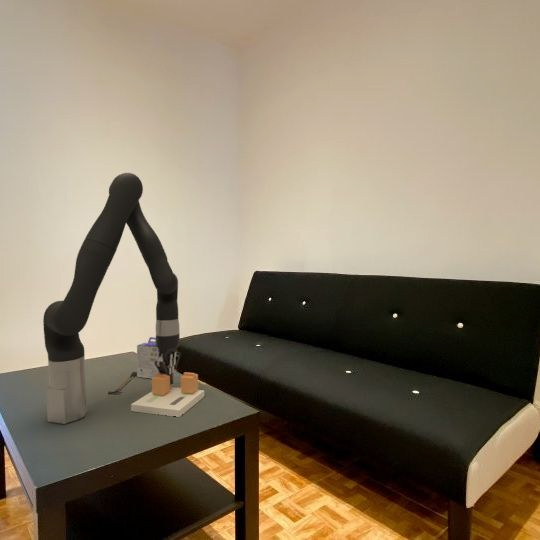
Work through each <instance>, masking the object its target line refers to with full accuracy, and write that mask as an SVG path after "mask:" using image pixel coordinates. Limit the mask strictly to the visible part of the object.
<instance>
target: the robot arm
mask: <svg viewBox="0 0 540 540" xmlns="http://www.w3.org/2000/svg"><path fill="white" fill-rule="evenodd" d="M143 186H144V185H143V183H142V181H141V179H140V177H139V176H138V175H136V174H135V173H132V172H123V173H121V174H118V175H117V176H116V177H114V179H113V180H112V182H111V183H110V185H109V188H108V197H107V199H106V203H105V205H104V207H103V209H102V211H101V212H100V214H99V215H98V217H97V218H96V220H95V221H94V222H93V224H92V226H91V227H90V229H89V231H88V232H87V234H86V236H85V237H84V240H83V242H82V244H81V246H80V248H79V250H78V253H77V256H76V259H75V267H74V268H75V269H74V275H73V279H72V280H73V281H72V282H71V284H70V285H71V286H70V288H69V290H68V292H67V294H66V295H65V297H64V299H63V300H57V301H53V302H52V303H51V304H49V305H48V307H46V309H45V311H44V314H43V319H42V320H43V324H42V325H43V335H44V336H43V337H44V348H45V350H46V353H47V365H48V367H47V368H48V387H46V392H45V393H46V415H47V416H46V417H47V422H50V423H55V424H56V423H57V424H62V425H65V424H68V423H71V422H74V421H75V422H76V421H78V420H81V419H82V418H84V417H86V415H87V409H88V408H87V388H86V386H87V385H86V364H85V363H86V358H85V356H86V355H85V346H84V345H83V343H82V340H81V338H80V332H81V331H82V330H83V329H84V328H85V327H86V324H87V322H88V321H89V318H90V315H91V311H92V307H93V305H94V302H95V299H96V296H97V294H98V290H99V289H100V287H101V285H102V283H103V281H104V279H105V276H106V273H107V272H108V270H109V267H110V266H111V264H112V261H113V259H114V256H115V254H116V252H117V250H118V248H119V247H118V246H119V244H120V242H121V239H122V236H123V234H124V231H125V227H126V225H127V227H128V229H129V231H130V233H131V234H132V236H133V239H134V241H135V242H136V246H137V247H138V249H139V252H140V254H141V256H142V259H143V261H144V263H145V264H146V266H147V268H148V272H149V275H150V278H151V281H152V283H153V286H154V288H155V289H156V299H157V300H156V305H155V306H156V307H155V314H156V315H155V318H156V319H155V338H156V340H155V341H156V347H157V348H158V349H159V350H160V352H159V360H158V361H155V366H156V367H157V369H158V371H159V372H160V374H165V375H168V376H170V386H171V385H173V384H174V379H173V378H174V377H173V376H174V374H173V373H175V370H177V368H178V364H179V361H180V359H181V354H182V353H181V352H179V351H178V349H177V348H178V347H180V345H181V343H180V342H181V341H180V339H181V338H180V333H181V332H180V322H179V305H178V304H179V303H178V295H179V294H178V293H179V279H178V276H177V275H176V273H174V271H173V270H172V267H171V265H170V263H169V261H168V256H167V253H166V251H165V249H164V246H163V245H162V243H161V240H160V239H159V236H158V234H157V233H156V232H155V230H154V228H152V226H151V225H150V223H149V222H148V220H147V219H146V216H145V214H144V213H143V210H142V207H141V204H140V199H141V198H142V196H143V193H144V187H143Z"/></svg>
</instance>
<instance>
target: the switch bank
mask: <svg viewBox="0 0 540 540" xmlns="http://www.w3.org/2000/svg"><path fill="white" fill-rule="evenodd" d="M204 397H205V390H203V389H202V390H201V389H198V390H197V391H195V392H194V393H193V394H189V393H181V387H173V386H170V392H168V393H167V394H165V395H164V396H163V395H154V394H152V391H150V392H149V393H147V394H145V395H144V396H142V397H141V398H139V399H137V400H136V401H135V402H132V403H131V404H130V411H131V412H136V413H137V412H138V413H145V414H150V415H151V414H153V415H158V414H159V415H158V416H165V415H167V416H166V417H173V416H176V417H175V418H181V417H182V416H183V415H184V414H186V412H187V411H189V410H190V409H191V408H192V407H194V406H195V405H196V404H197V403H198V402H200V401H201V400H202V399H203V398H204ZM182 414H183V415H182Z"/></svg>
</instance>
